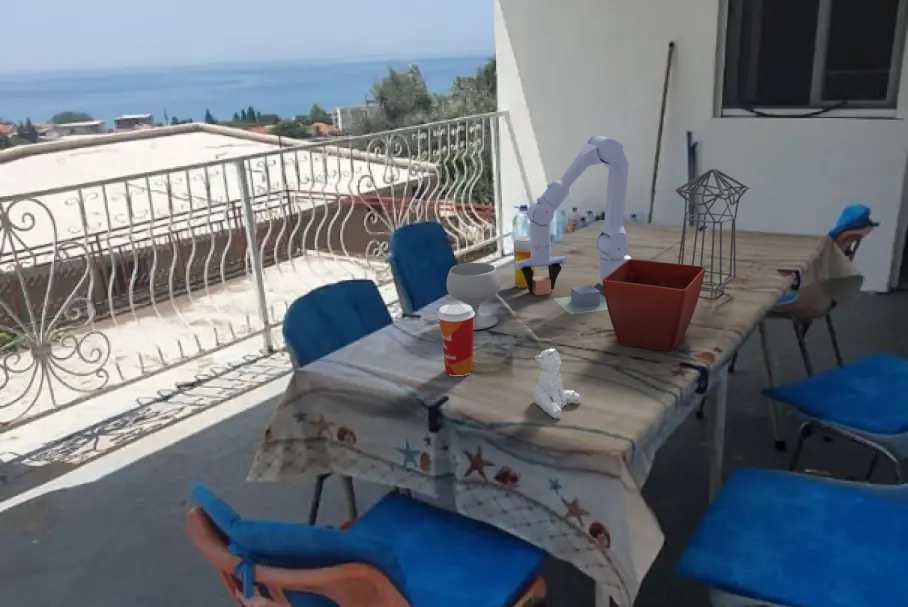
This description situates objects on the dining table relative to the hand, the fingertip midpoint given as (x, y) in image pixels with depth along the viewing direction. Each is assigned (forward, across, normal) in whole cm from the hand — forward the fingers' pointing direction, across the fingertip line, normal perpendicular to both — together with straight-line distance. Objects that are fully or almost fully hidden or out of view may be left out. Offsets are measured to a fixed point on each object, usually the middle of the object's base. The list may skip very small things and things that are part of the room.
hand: (541, 289), depth 207 cm
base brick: (+1, -8, +14) cm, 16 cm away
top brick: (+2, 0, 0) cm, 2 cm away
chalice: (+2, +24, +16) cm, 29 cm away
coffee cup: (+2, +35, +45) cm, 57 cm away
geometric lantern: (+2, -44, +15) cm, 47 cm away
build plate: (+1, -8, +14) cm, 16 cm away
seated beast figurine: (+2, +21, +67) cm, 70 cm away
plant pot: (+2, -14, +42) cm, 44 cm away
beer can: (+2, +2, -9) cm, 9 cm away
